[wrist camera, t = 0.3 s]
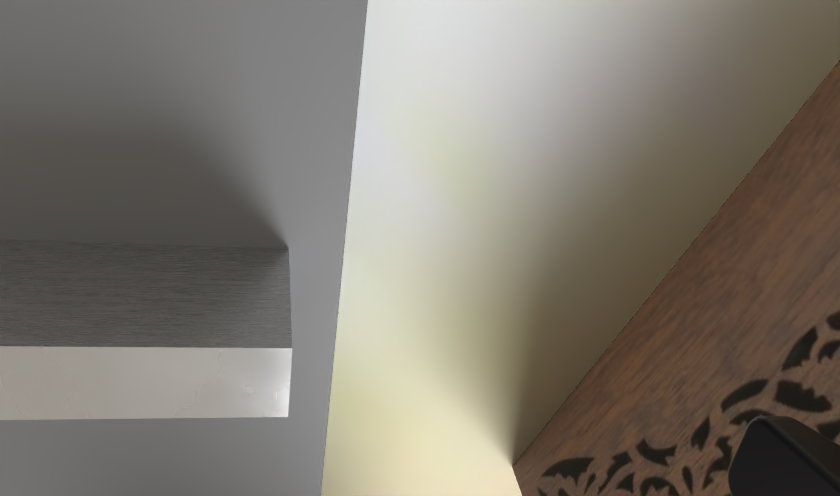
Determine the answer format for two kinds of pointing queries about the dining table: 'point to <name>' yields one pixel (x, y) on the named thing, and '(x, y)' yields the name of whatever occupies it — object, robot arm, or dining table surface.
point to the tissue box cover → (717, 337)
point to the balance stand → (172, 242)
